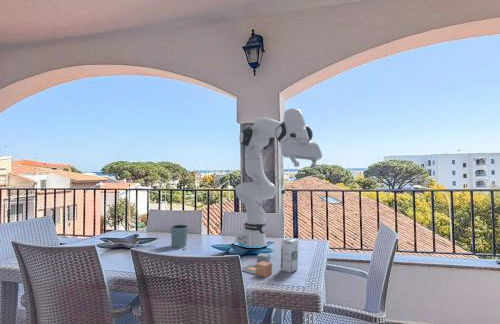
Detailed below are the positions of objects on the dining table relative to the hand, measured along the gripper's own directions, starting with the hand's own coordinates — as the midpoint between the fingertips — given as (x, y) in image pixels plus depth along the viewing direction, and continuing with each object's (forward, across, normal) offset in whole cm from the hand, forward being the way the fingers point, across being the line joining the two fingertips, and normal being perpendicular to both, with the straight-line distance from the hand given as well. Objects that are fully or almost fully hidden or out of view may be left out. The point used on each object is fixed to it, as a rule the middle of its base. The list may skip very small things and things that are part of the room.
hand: (305, 167), depth 131 cm
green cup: (+14, +32, -90) cm, 96 cm away
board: (+37, +12, -38) cm, 54 cm away
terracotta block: (+40, +11, -31) cm, 52 cm away
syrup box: (+39, -3, -30) cm, 50 cm away
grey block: (+34, +4, -42) cm, 54 cm away
